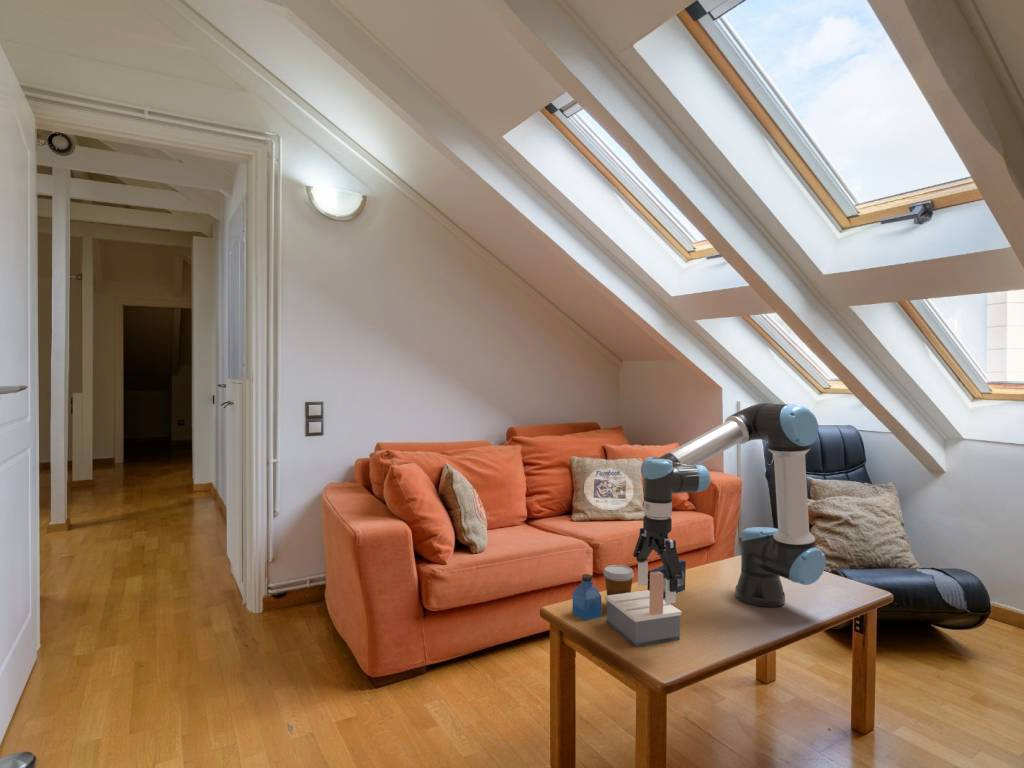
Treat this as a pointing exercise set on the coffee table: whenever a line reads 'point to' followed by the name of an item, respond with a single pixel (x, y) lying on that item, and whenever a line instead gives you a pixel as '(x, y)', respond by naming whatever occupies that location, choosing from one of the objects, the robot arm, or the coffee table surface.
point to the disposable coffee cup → (618, 579)
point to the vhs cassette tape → (679, 581)
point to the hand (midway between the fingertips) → (656, 593)
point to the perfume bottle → (586, 599)
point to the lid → (645, 602)
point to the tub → (643, 628)
